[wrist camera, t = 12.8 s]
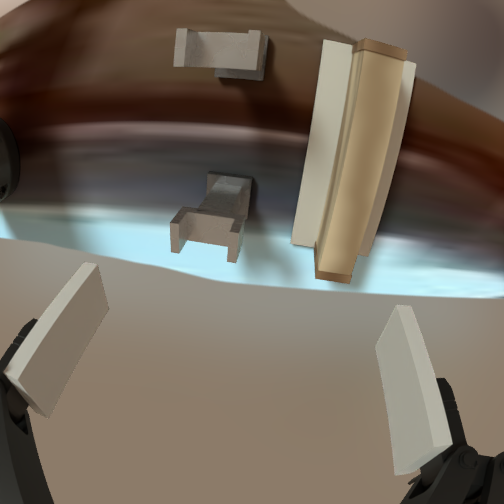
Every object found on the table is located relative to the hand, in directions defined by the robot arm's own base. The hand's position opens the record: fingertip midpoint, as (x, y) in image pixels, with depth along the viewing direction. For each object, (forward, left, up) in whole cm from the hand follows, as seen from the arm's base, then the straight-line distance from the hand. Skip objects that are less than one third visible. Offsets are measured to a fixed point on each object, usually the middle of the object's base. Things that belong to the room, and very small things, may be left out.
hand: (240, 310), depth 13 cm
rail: (+8, +2, -24) cm, 25 cm away
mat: (+8, +2, -24) cm, 26 cm away
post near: (-5, +11, -24) cm, 27 cm away
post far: (-5, -5, -24) cm, 25 cm away
